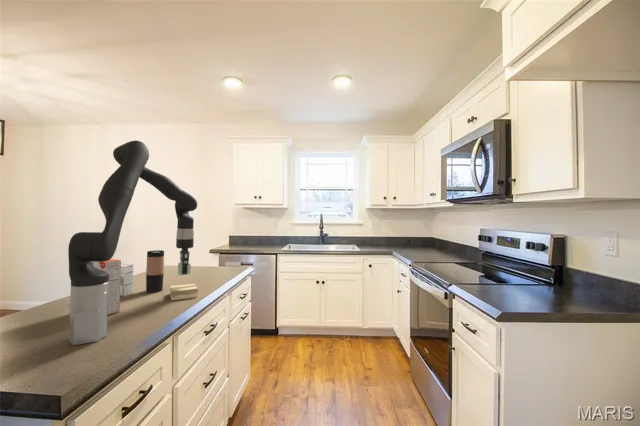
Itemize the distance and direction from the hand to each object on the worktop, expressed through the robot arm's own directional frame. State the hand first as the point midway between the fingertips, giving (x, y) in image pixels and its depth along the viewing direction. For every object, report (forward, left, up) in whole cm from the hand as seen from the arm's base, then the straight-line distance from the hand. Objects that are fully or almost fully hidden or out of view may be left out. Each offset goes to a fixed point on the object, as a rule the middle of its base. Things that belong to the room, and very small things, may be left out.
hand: (184, 272), depth 133 cm
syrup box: (+14, +25, -11) cm, 31 cm away
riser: (0, 0, -11) cm, 11 cm away
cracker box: (-9, +30, -11) cm, 33 cm away
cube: (0, 0, 0) cm, 0 cm away
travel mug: (+15, +12, -11) cm, 22 cm away
